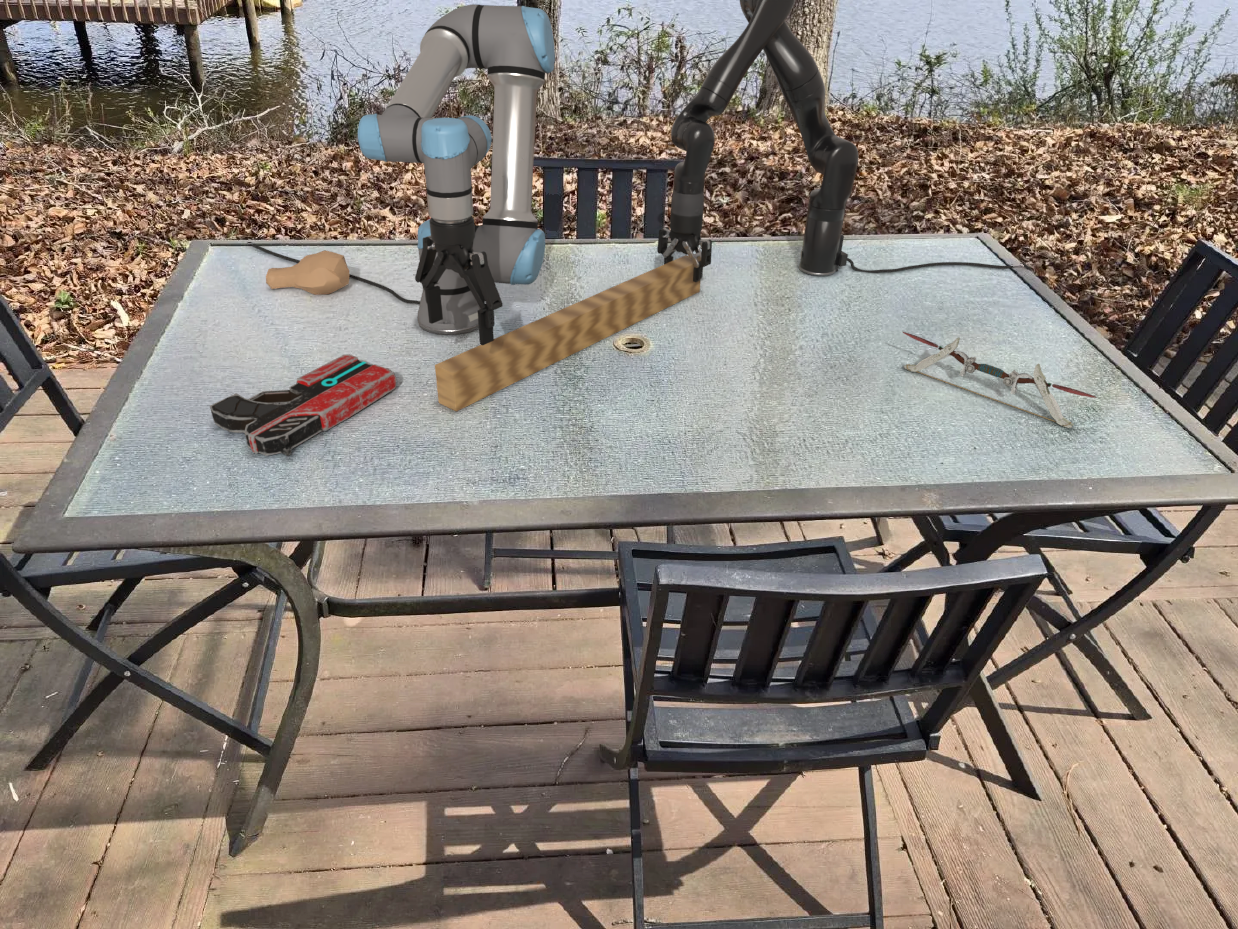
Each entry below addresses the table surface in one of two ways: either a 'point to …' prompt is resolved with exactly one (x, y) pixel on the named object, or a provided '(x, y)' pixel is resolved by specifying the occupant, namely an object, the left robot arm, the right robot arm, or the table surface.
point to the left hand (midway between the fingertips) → (460, 331)
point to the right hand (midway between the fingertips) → (682, 276)
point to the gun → (304, 405)
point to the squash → (312, 274)
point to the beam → (561, 334)
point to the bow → (1009, 379)
